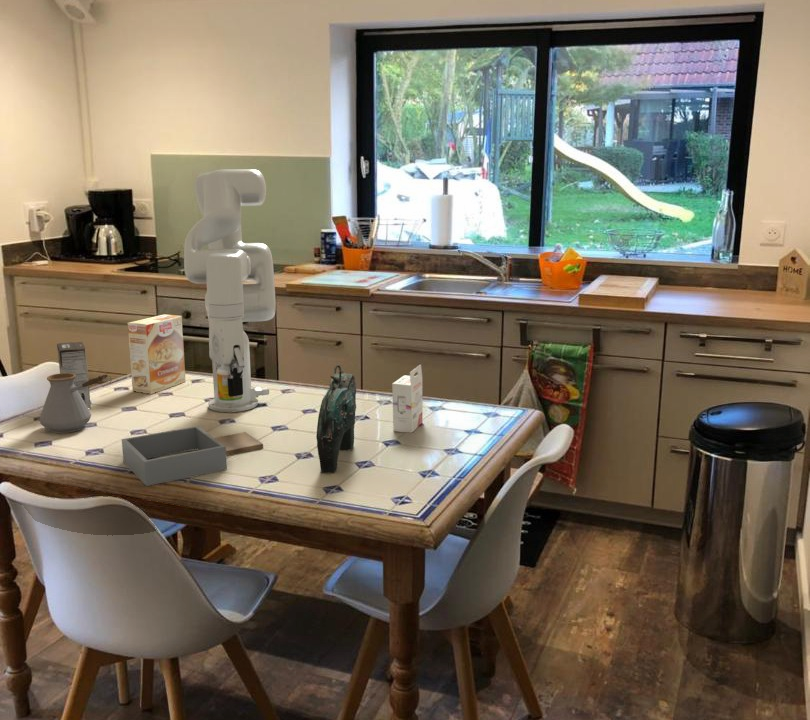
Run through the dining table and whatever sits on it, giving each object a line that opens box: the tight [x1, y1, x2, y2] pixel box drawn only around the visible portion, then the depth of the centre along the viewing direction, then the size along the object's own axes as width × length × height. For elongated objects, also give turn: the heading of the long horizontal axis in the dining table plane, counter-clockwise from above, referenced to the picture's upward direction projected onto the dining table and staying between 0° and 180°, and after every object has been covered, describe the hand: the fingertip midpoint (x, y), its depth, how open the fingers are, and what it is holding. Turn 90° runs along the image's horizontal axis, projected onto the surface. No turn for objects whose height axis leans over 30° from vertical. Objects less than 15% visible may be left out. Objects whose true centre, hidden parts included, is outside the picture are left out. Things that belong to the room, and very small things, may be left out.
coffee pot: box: [39, 373, 112, 434], centre depth 198 cm, size 21×12×15 cm, turn 62°
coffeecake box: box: [127, 313, 186, 395], centre depth 237 cm, size 15×7×20 cm, turn 155°
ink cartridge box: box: [391, 364, 423, 434], centre depth 200 cm, size 9×5×15 cm, turn 161°
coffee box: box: [56, 341, 92, 409], centre depth 219 cm, size 9×6×16 cm
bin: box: [121, 425, 228, 487], centre depth 176 cm, size 17×17×5 cm
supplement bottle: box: [217, 361, 243, 403], centre depth 185 cm, size 5×5×10 cm
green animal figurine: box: [315, 364, 357, 474], centre depth 179 cm, size 20×6×20 cm, turn 170°
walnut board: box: [214, 431, 264, 456], centre depth 189 cm, size 10×10×1 cm
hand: (230, 391), depth 186 cm, fingers closed on supplement bottle, 5 cm apart
